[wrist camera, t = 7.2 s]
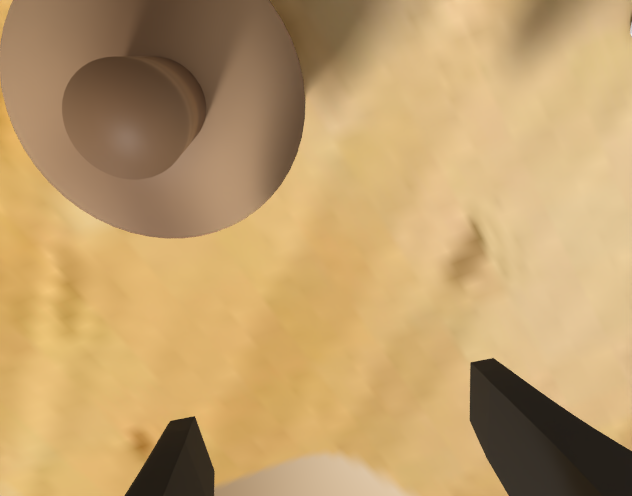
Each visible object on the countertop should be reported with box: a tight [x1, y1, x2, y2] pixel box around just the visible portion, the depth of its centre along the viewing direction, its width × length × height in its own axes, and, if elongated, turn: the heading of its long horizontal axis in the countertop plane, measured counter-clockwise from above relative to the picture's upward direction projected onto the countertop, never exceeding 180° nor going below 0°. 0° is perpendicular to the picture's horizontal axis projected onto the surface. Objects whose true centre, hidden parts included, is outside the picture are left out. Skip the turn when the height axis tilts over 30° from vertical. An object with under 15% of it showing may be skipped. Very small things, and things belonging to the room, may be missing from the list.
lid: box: [0, 0, 305, 238], centre depth 11 cm, size 8×8×4 cm
